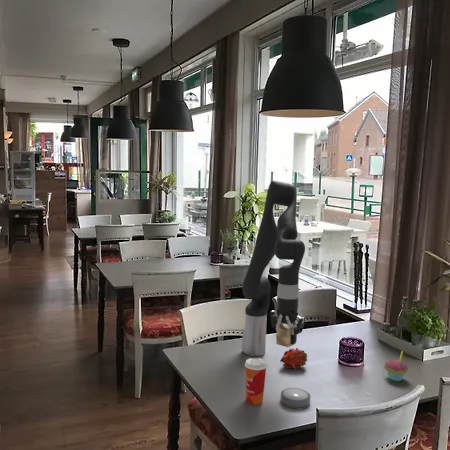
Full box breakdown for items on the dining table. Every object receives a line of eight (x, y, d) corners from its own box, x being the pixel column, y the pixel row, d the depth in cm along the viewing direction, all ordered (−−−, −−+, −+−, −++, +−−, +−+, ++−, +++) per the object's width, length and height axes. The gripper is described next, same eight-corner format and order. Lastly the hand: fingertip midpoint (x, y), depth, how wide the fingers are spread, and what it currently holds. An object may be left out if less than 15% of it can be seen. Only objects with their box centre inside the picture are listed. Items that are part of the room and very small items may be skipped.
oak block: (276, 343, 175) (276, 327, 174) (283, 340, 179) (284, 324, 178) (288, 347, 172) (288, 330, 171) (295, 343, 176) (296, 327, 175)
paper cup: (241, 395, 172) (243, 357, 170) (263, 395, 172) (265, 357, 171) (244, 406, 164) (246, 366, 162) (267, 406, 165) (269, 366, 163)
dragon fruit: (309, 370, 198) (282, 377, 195) (301, 352, 204) (274, 359, 201) (313, 359, 193) (285, 366, 189) (305, 341, 198) (277, 347, 195)
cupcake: (406, 376, 192) (409, 346, 191) (407, 385, 184) (409, 354, 183) (383, 372, 195) (385, 343, 194) (383, 381, 187) (385, 350, 186)
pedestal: (274, 401, 168) (275, 394, 168) (290, 392, 176) (291, 384, 175) (300, 411, 162) (300, 404, 161) (315, 401, 169) (315, 393, 169)
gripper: (311, 297, 172) (309, 344, 174) (276, 290, 181) (275, 335, 183) (299, 301, 166) (297, 350, 168) (265, 293, 175) (263, 340, 177)
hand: (286, 342), depth 175 cm, fingers closed on oak block, 5 cm apart
